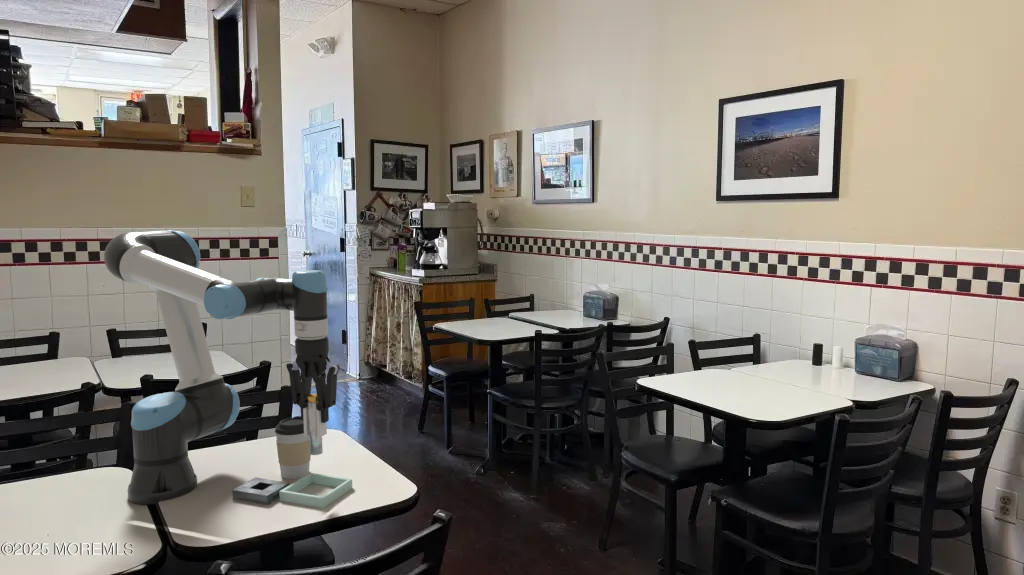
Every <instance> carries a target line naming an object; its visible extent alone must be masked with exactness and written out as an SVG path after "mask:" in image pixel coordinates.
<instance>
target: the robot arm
mask: <svg viewBox="0 0 1024 575" xmlns="http://www.w3.org/2000/svg"><path fill="white" fill-rule="evenodd" d="M103 261H104V265H105V266H106V269H107V270H108V272H109V273H111V274H112V275H113V276H114V277H116V278H117V279H119V280H122V281H124V282H127V283H129V284H133V285H139V284H144V285H146V286H147V288H149V289H150V290H152V291H153V292H155V294H156V298H157V302H158V305H159V309H160V313H161V316H162V320H163V324H164V327H165V331H166V335H167V339H168V343H169V347H170V350H171V354H172V357H173V358H172V359H173V361H174V364H175V365H174V366H175V369H176V374H177V376H178V380H179V382H178V384H177V385H176V387H175V390H174V391H168V392H167V391H166V392H163V393H156V394H152V395H149V396H146V397H144V398H142V399H140V400H139V401H137V402H136V403H135V404H134V405H133V407H132V410H131V421H130V426H131V431H132V446H133V448H132V449H133V460H134V462H133V463H134V465H133V466H134V467H133V469H132V474H131V479H130V482H129V484H128V486H127V497H128V498H127V499H128V501H130V503H133V504H137V505H155V504H158V503H159V502H165V501H169V500H173V499H177V498H180V497H182V496H185V495H187V494H189V493H190V492H191V493H192V492H193V491H194V490H196V488H197V487H198V477H197V474H196V473H195V470H194V468H193V465H192V463H191V461H190V458H189V448H188V443H189V442H192V441H194V440H198V439H201V438H203V437H207V436H209V435H212V434H216V433H219V432H222V430H224V429H227V428H229V427H230V426H232V425H233V424H234V423H235V422H236V420H237V417H238V416H239V413H240V408H241V405H240V404H241V403H240V401H241V400H240V397H239V395H238V394H239V393H238V391H237V390H236V389H234V387H233V386H232V385H231V384H228V383H225V381H224V380H225V379H224V376H222V375H221V374H218V373H217V372H216V371H215V367H214V363H213V360H212V357H211V352H210V349H209V345H208V341H207V338H206V334H205V330H204V326H203V322H202V319H201V315H200V312H199V311H200V310H199V306H198V305H200V306H202V307H204V309H205V311H206V312H207V313H208V314H209V316H210V317H212V318H213V319H215V320H230V319H231V320H233V319H235V318H240V317H244V316H251V315H254V314H261V313H266V312H273V311H293V319H294V320H293V322H294V336H295V337H296V338H295V339H294V347H295V348H294V349H295V350H294V351H295V354H296V357H295V360H294V361H292V362H288V363H287V364H286V369H287V371H288V374H289V375H288V376H289V382H290V384H289V385H290V389H291V390H290V391H291V392H290V393H291V398H292V403H293V405H297V406H298V407H299V408H300V416H301V420H303V421H304V435H305V436H307V435H309V428H308V402H307V395H309V394H312V393H311V392H312V380H313V382H314V386H315V392H316V394H317V398H318V404H319V408H317V410H316V418H317V437H322V438H323V437H324V436H326V435H327V432H328V430H327V429H328V428H327V422H328V421H329V419H330V416H329V408H331V407H334V406H336V404H337V389H338V387H337V386H338V373H339V371H340V368H341V367H340V365H339V364H337V365H334V364H333V363H331V362H330V359H329V356H328V354H329V350H330V347H329V345H330V344H329V338H328V334H329V322H328V321H329V318H328V287H327V279H326V277H327V276H326V274H325V272H324V271H322V270H317V269H316V270H315V269H314V270H313V269H311V270H310V269H306V270H297V271H293V273H292V277H291V278H285V277H284V278H282V277H273V276H269V277H266V276H265V277H258V278H257V279H255V280H248V281H234V280H231V279H228V278H225V277H222V276H220V275H217V274H214V273H211V272H210V271H205V270H203V269H200V268H199V267H200V262H201V252H200V248H199V246H198V244H197V242H196V241H195V240H194V238H193V237H192V236H191V235H189V234H187V233H186V232H183V231H179V230H170V229H169V230H168V229H166V230H155V231H153V230H152V231H151V230H150V231H128V232H124V233H120V234H119V235H116V236H115V237H114V238H112V239H111V240H110V241H109V242H108V243H107V245H106V247H105V250H104V255H103Z"/></svg>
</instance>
